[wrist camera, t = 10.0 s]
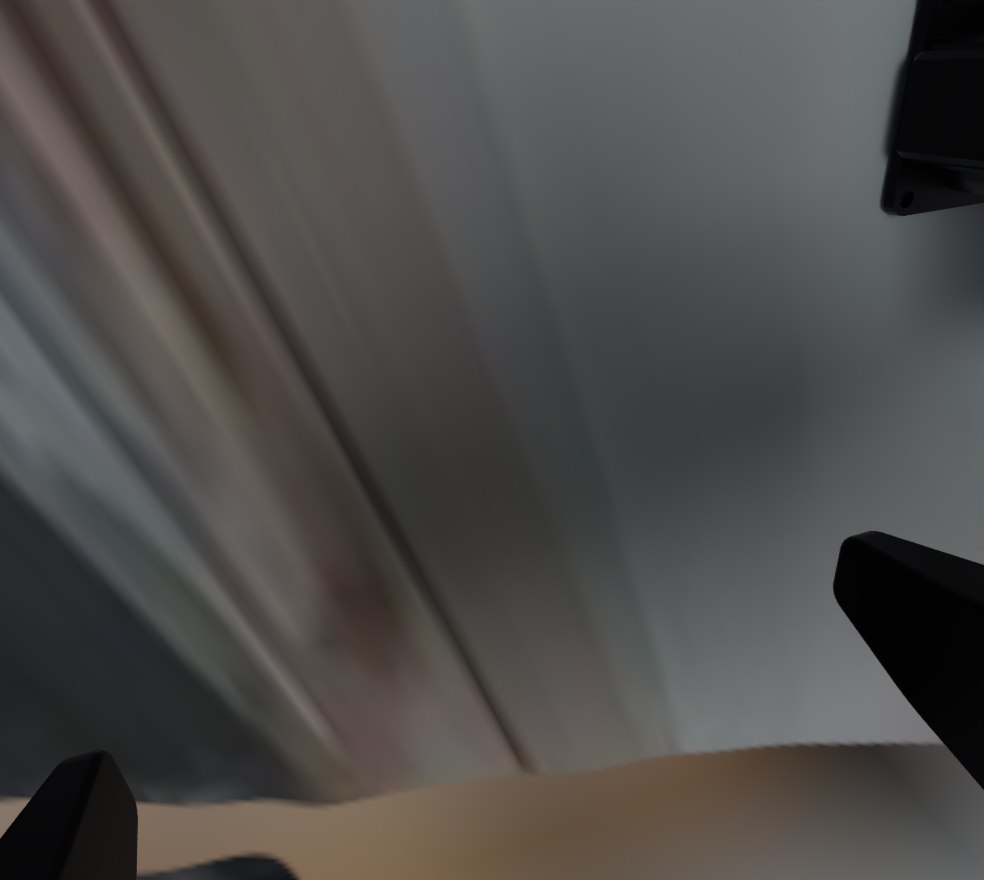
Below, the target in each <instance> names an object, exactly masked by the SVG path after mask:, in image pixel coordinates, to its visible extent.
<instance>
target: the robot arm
mask: <svg viewBox="0 0 984 880" xmlns="http://www.w3.org/2000/svg"><path fill="white" fill-rule="evenodd" d="M903 195H904V198H903V200H902V202H901V203H900V200H901V198H902V196H903ZM978 203H984V0H921V4H920V10H919V15H918V20H917V26H916V31H915V36H914V42H913V47H912V53H911V58H910V63H909V69H908V74H907V80H906V85H905V90H904V96H903V101H902V107H901V112H900V117H899V123H898V128H897V134H896V139H895V144H894V150H893V155H892V161H891V166H890V171H889V177H888V182H887V188H886V193H885V198H884V207H885V210H886V211H887V212H888V213H890V214H895V215H899V216H906V215H912V214H918V213H924V212H930V211H936V210H942V209H948V208H954V207H960V206H966V205H972V204H978ZM833 592H834V595H835V598H836V600H837V602H838V604H839V606H840V607H841V609H842V610H843V611H844V613H845V614H846V616H847V617H848V618H849V620H850V621H851V623H852V624H853V625H854V627H855V628H856V630H857V631H858V632H859V634H860V635H861V637H862V638H863V639H864V641H865V642H866V644H867V645H868V646H869V648H870V649H871V651H872V652H873V653H874V655H875V656H876V658H877V659H878V660H879V662H880V663H881V665H882V666H883V667H884V669H885V670H886V672H887V673H888V674H889V676H890V677H891V679H892V680H893V681H894V683H895V684H896V686H897V687H898V688H899V690H900V691H901V692H902V694H903V695H904V696H905V698H906V699H907V700H908V702H909V703H910V704H911V705H912V707H913V708H914V709H915V710H916V711H917V713H918V714H919V715H920V716H921V718H922V719H923V720H924V721H925V722H926V723H927V725H928V726H929V727H930V728H931V729H932V730H933V732H934V733H935V734H936V735H937V736H938V737H939V739H940V740H941V741H942V742H943V743H944V744H945V746H946V747H947V748H948V749H949V750H950V751H951V753H952V754H953V755H954V756H955V757H956V758H957V760H958V761H959V762H960V763H961V764H962V765H963V766H964V768H965V769H966V770H967V771H968V772H969V774H970V775H971V776H972V777H973V778H974V779H975V780H976V782H977V783H978V784H979V785H980V786H981V787H982V789H983V790H984V565H982V564H979V563H976V562H973V561H970V560H966V559H963V558H960V557H957V556H954V555H951V554H948V553H945V552H941V551H938V550H935V549H932V548H929V547H926V546H923V545H920V544H916V543H913V542H910V541H907V540H904V539H901V538H898V537H895V536H891V535H888V534H885V533H882V532H878V531H868V532H865V533H861V534H858V535H854V536H851V537H848V538H846V539H845V540H844V541H843V543H842V545H841V548H840V552H839V557H838V562H837V567H836V572H835V577H834V582H833ZM137 833H138V815H137V807H136V802H135V799H134V796H133V794H132V792H131V790H130V788H129V786H128V784H127V782H126V780H125V779H124V777H123V775H122V773H121V771H120V769H119V767H118V765H117V763H116V761H115V759H114V758H113V756H112V755H111V753H110V752H108V751H107V750H104V749H103V750H96V751H92V752H89V753H85V754H82V755H78V756H75V757H71V758H68V759H66V760H64V761H62V762H61V763H60V764H59V765H58V766H57V767H56V768H55V769H54V770H53V772H52V773H51V774H50V775H49V777H48V778H47V779H46V781H45V782H44V783H43V784H42V786H41V787H40V788H39V790H38V791H37V792H36V793H35V795H34V796H33V797H32V799H31V800H30V801H29V802H28V804H27V805H26V806H25V808H24V809H23V810H22V811H21V813H20V814H19V815H18V816H17V818H16V819H15V821H14V822H13V823H12V824H11V825H10V827H9V828H8V829H7V831H6V832H5V833H4V835H3V836H2V837H1V838H0V880H136V878H137Z"/></svg>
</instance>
